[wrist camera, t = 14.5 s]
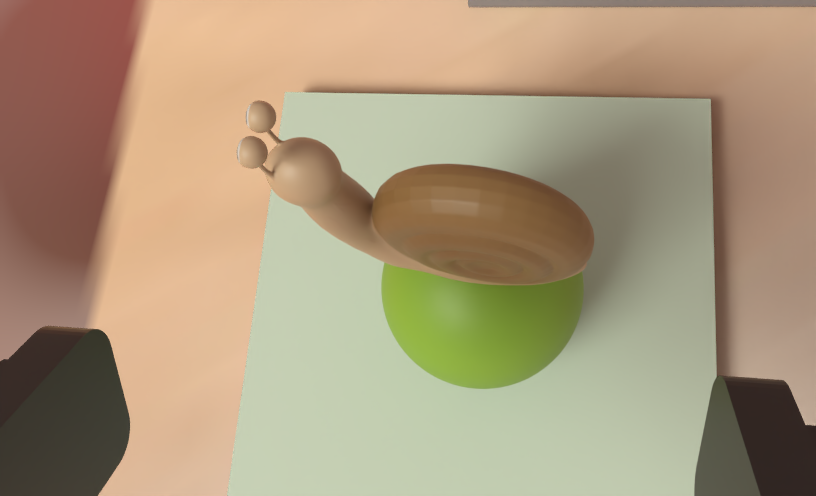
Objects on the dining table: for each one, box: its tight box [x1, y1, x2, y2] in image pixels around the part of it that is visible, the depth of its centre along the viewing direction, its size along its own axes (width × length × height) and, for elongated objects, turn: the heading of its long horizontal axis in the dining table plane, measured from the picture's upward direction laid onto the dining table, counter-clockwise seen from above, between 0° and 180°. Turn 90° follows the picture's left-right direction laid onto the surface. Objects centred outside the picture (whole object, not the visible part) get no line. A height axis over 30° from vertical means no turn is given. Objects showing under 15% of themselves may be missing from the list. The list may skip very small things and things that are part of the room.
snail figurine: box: [237, 101, 594, 389], centre depth 18 cm, size 5×6×12 cm
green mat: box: [227, 92, 717, 496], centre depth 24 cm, size 14×14×1 cm
